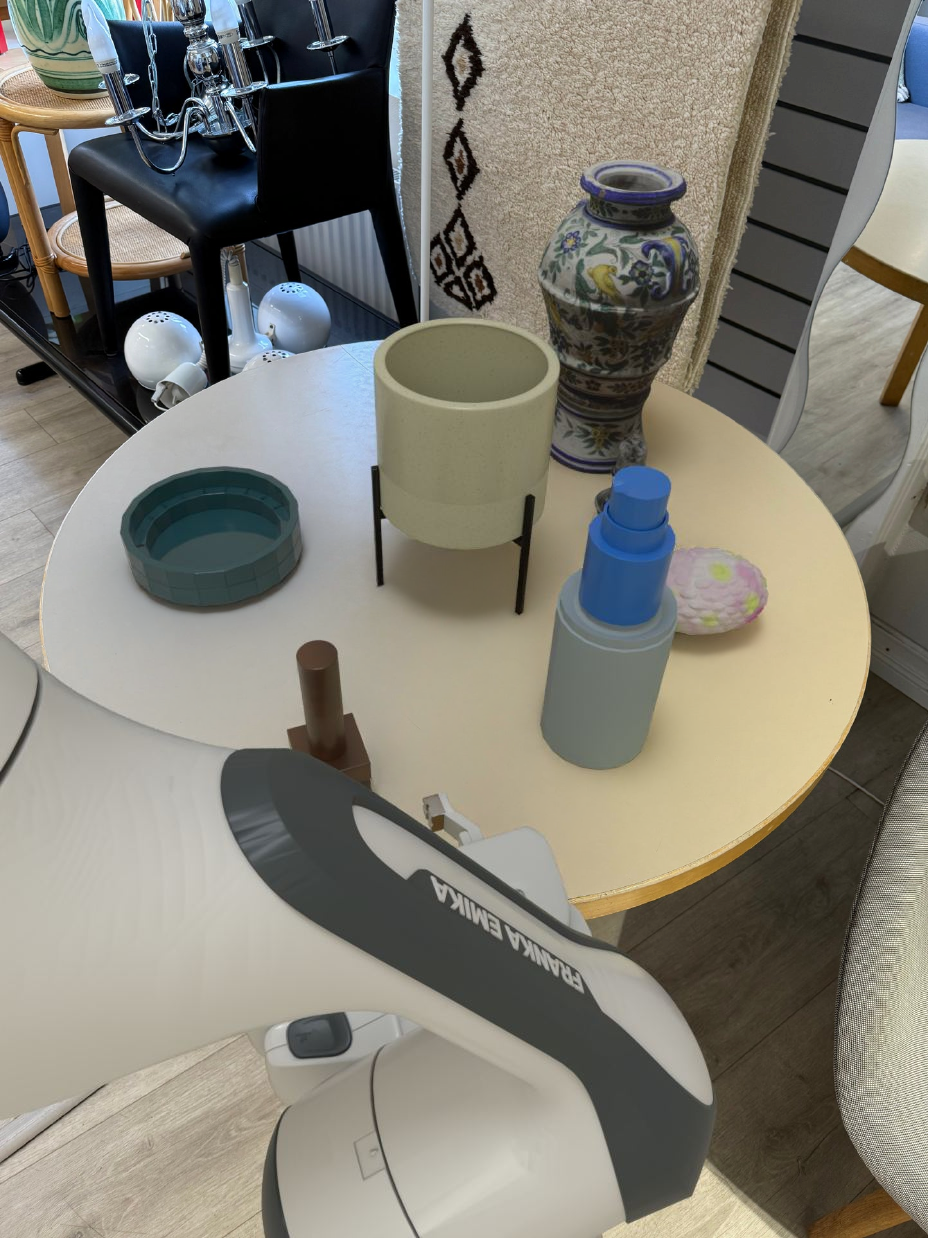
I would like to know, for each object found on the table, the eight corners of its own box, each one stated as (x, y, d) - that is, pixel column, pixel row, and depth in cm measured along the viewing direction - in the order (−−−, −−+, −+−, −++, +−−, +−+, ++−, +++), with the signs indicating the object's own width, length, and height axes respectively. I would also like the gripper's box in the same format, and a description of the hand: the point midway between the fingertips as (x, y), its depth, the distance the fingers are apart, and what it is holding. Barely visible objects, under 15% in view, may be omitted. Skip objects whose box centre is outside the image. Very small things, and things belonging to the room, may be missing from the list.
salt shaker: (650, 521, 96) (672, 423, 88) (640, 554, 92) (661, 455, 84) (596, 509, 98) (613, 411, 89) (584, 541, 94) (599, 442, 85)
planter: (363, 536, 93) (350, 325, 77) (510, 516, 96) (528, 309, 80) (392, 638, 83) (384, 419, 67) (556, 612, 86) (586, 396, 70)
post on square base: (307, 816, 69) (287, 691, 59) (292, 763, 72) (270, 637, 62) (373, 797, 70) (364, 671, 60) (355, 746, 74) (344, 620, 64)
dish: (125, 622, 83) (112, 581, 80) (138, 512, 95) (127, 473, 91) (307, 603, 86) (302, 563, 82) (298, 499, 97) (293, 460, 94)
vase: (576, 504, 98) (617, 221, 77) (495, 426, 109) (511, 160, 88) (695, 464, 104) (762, 192, 83) (607, 394, 115) (647, 138, 94)
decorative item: (608, 561, 84) (699, 508, 78) (671, 582, 92) (758, 535, 86) (637, 650, 80) (734, 600, 74) (700, 664, 88) (792, 620, 82)
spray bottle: (639, 688, 79) (699, 445, 62) (653, 771, 73) (724, 526, 55) (537, 685, 79) (569, 440, 62) (543, 768, 73) (579, 521, 55)
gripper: (615, 939, 49) (516, 747, 58) (236, 1074, 44) (193, 838, 53) (599, 989, 53) (510, 803, 63) (253, 1118, 48) (211, 893, 57)
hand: (363, 820), depth 58 cm, fingers open, 8 cm apart
